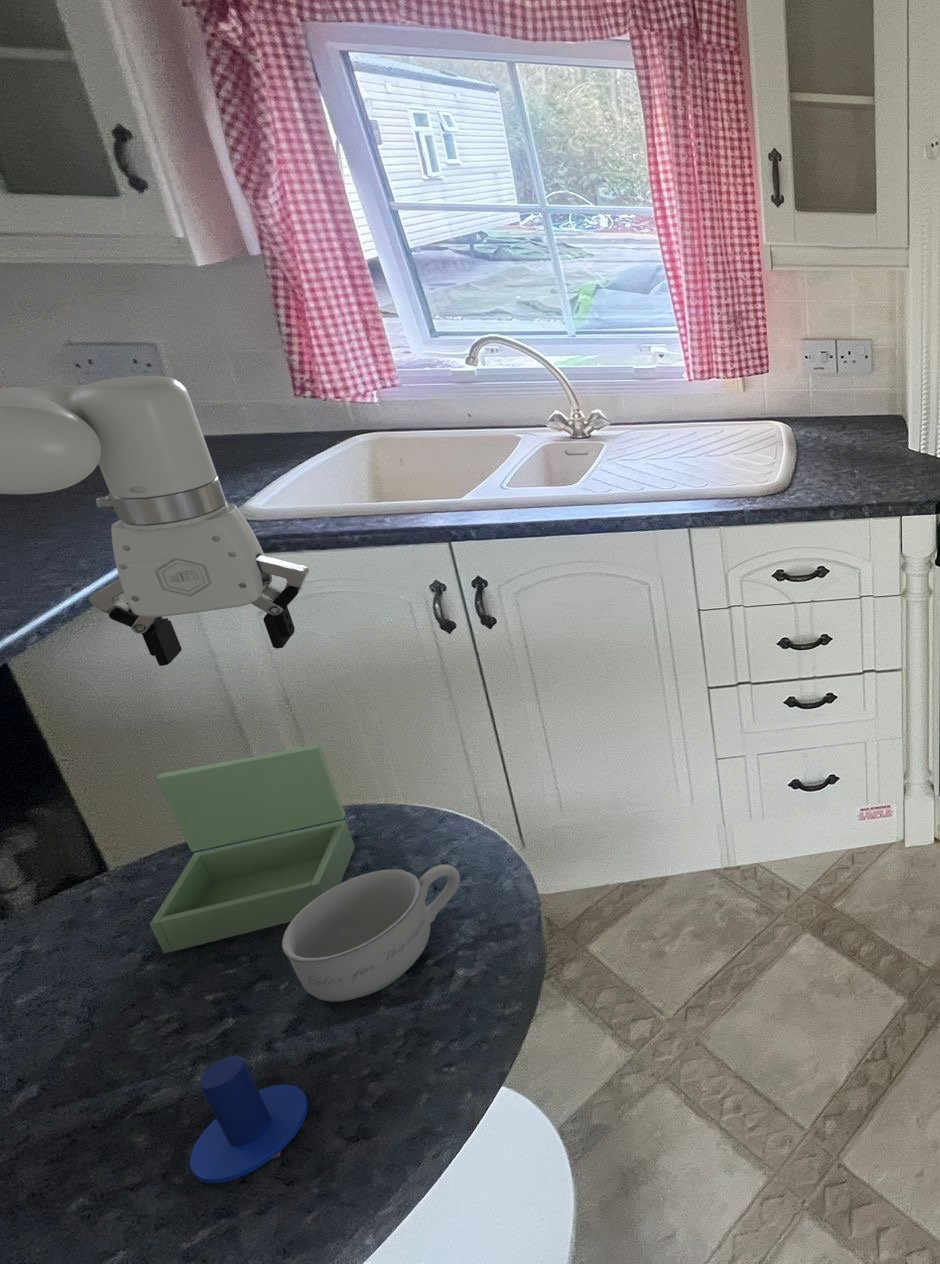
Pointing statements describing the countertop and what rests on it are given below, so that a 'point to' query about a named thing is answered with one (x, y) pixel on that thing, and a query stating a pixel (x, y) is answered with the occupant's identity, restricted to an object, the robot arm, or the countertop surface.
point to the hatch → (252, 797)
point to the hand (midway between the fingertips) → (228, 650)
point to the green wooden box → (251, 885)
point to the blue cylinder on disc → (243, 1122)
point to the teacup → (364, 932)
